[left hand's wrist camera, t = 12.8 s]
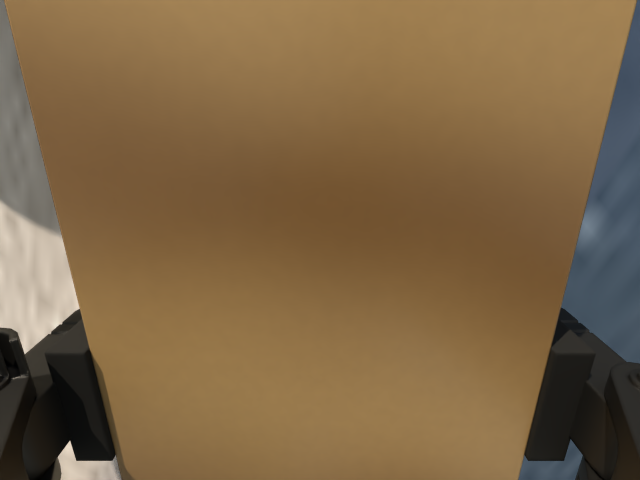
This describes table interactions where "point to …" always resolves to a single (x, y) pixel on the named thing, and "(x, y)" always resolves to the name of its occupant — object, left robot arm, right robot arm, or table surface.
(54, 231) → the table surface
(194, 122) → the thick board
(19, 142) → the table surface
